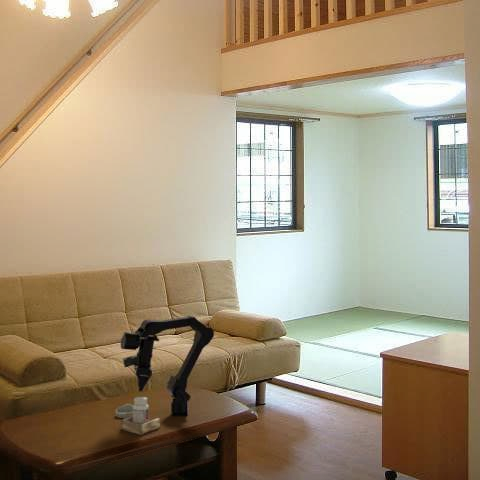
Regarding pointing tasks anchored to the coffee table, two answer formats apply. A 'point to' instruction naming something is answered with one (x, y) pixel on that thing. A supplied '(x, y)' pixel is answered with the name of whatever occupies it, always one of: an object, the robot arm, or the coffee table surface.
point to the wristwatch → (125, 411)
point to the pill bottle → (140, 410)
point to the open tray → (139, 426)
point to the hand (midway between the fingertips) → (139, 388)
